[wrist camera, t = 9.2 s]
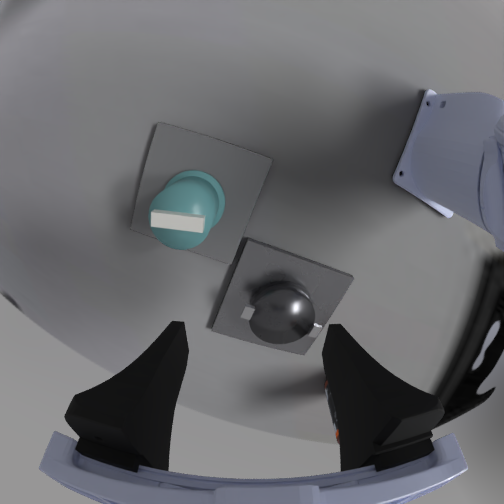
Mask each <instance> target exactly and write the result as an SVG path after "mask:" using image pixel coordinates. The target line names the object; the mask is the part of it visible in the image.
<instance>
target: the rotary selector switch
mask: <svg viewBox="0 0 504 504" xmlns="http://www.w3.org/2000/svg"><path fill="white" fill-rule="evenodd" d="M353 280H354V277H353V276H352V275H350V274H348V273H345V272H342V271H339V270H337V269H334V268H331V267H329V266H326V265H323V264H320V263H318V262H315V261H312V260H309V259H307V258H304V257H301V256H298V255H296V254H293V253H290V252H287V251H284V250H282V249H279V248H276V247H273V246H271V245H268V244H265V243H262V242H259V241H257V240H254V239H251V238H248V239H247V241H246V243H245V246H244V248H243V251H242V253H241V256H240V258H239V261H238V263H237V266H236V268H235V271H234V273H233V276H232V278H231V281H230V283H229V286H228V288H227V291H226V293H225V296H224V298H223V301H222V303H221V306H220V309H219V311H218V314H217V316H216V319H215V321H214V324H213V326H212V331H213V332H216V333H220V334H223V335H227V336H230V337H233V338H237V339H240V340H244V341H248V342H251V343H255V344H259V345H263V346H266V347H270V348H274V349H278V350H283V351H287V352H291V353H295V354H300V355H305V353H306V352H307V351H308V349H309V348H310V346H311V345H312V344H313V342H314V341H315V339H316V338H317V336H318V335H319V333H320V332H321V330H322V329H323V327H324V326H325V324H326V323H327V321H328V320H329V318H330V317H331V315H332V314H333V312H334V311H335V309H336V307H337V306H338V304H339V303H340V301H341V299H342V298H343V296H344V295H345V293H346V291H347V290H348V288H349V286H350V285H351V283H352V281H353Z"/></svg>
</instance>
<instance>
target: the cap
mask: <svg viewBox="0 0 504 504" xmlns="http://www.w3.org/2000/svg"><path fill="white" fill-rule="evenodd" d="M224 208H225V194H224V191H223V188H222V186H221V185H220V183H219V182H218V181H217V180H216V179H215V178H214V177H213V176H212V175H210V174H208V173H206V172H203V171H200V170H188V171H184V172H181V173H179V174H178V175H176V176H175V177H173V178H172V179H171V180H170V181H169V182H168V184H167V185H166V187H165V189H164V190H163V191H162V192H160V193H159V194H158V195H157V196H156V197H155V198H154V200H153V201H152V203H151V205H150V208H149V214H148V218H149V224H150V228H151V230H152V232H153V234H154V235H155V236H156V238H157V239H158V240H159V241H160V242H162V243H163V244H164V245H166V246H168V247H170V248H173V249H179V250H185V249H190V248H193V247H195V246H197V245H199V244H200V243H201V242H203V241H204V239H205V238H206V237H207V235H208V233H209V231H210V229H211V228H212V227H213V226H215V225H216V224H217V223H218V221H219V220H220V218H221V217H222V214H223V212H224Z"/></svg>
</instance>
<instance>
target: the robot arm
mask: <svg viewBox="0 0 504 504" xmlns="http://www.w3.org/2000/svg"><path fill="white" fill-rule="evenodd" d="M426 102H428V106H427V104H426ZM400 171H402V175H401V176H400V175H399V172H400ZM393 182H394V183H395V184H397V185H398V186H400V187H402V188H403V189H405V190H406V191H408V192H410V193H411V194H413V195H414V196H416V197H417V198H419V199H421V200H422V201H424V202H425V203H427V204H428V205H430V206H431V207H432V208H434V209H435V210H437V211H438V212H440V213H441V214H443V215H444V216H445V217H447V218H450V217H451V216H452V215H453V213H456V214H458V215H460V216H462V217H463V218H465V219H467V220H469V221H470V222H472V223H474V224H476V225H477V226H479V227H481V228H482V229H484V230H486V231H487V232H489V233H490V234H492V235H493V236H494V238H495V242H496V247H498V248H499V249H501V250H502V251H503V252H504V100H502V99H500V98H498V97H496V96H493V95H490V94H487V93H482V92H465V93H448V94H436V93H435V92H434V91H433V90H431V89H428V90H426V91H425V94H424V97H423V100H422V103H421V106H420V109H419V112H418V114H417V117H416V120H415V123H414V125H413V128H412V131H411V133H410V136H409V139H408V141H407V144H406V146H405V149H404V151H403V154H402V156H401V158H400V161H399V163H398V166H397V168H396V170H395V173H394V175H393ZM188 354H189V348H188V342H187V336H186V330H185V324H184V322H180V321H172V322H171V323H170V324H169V325H168V326H167V328H166V329H165V330H164V331H163V332H162V333H161V334H160V336H159V337H158V338H157V339H156V340H155V341H154V342H153V343H152V344H151V345H150V346H149V347H148V349H147V350H145V351H144V352H143V353H142V354H141V355H140V356H139V357H138V358H137V359H136V360H135V361H134V362H132V363H131V364H130V365H129V366H128V367H126V368H125V369H124V370H122V371H121V372H119V373H118V374H116V375H115V376H113V377H112V378H110V379H109V380H107V381H105V382H103V383H101V384H99V385H97V386H95V387H93V388H91V389H89V390H86V391H84V392H81V393H79V394H76V395H75V396H74V397H73V399H72V401H71V403H70V405H69V407H68V410H67V412H66V414H65V420H66V422H67V423H68V424H69V426H70V427H71V428H72V429H73V430H74V431H75V432H76V433H77V434H78V435H79V437H80V438H79V441H78V442H77V441H76V440H74V439H73V438H70V437H68V436H66V435H63V434H61V433H59V432H57V431H54V433H53V435H52V437H51V440H50V442H49V444H48V446H47V449H46V451H45V454H44V456H43V459H42V461H41V464H40V466H39V469H40V470H41V471H42V472H44V473H45V474H46V475H48V476H49V477H51V478H52V479H54V480H55V481H57V482H58V483H60V484H61V485H63V486H65V487H66V488H68V489H70V490H73V491H75V492H77V493H79V494H81V495H84V496H86V497H88V498H90V499H93V500H95V501H98V502H100V503H103V504H404V503H406V502H409V501H411V500H414V499H416V498H418V497H421V496H422V495H425V494H428V493H430V492H432V491H434V490H436V489H438V488H440V487H442V486H443V485H445V484H447V483H448V482H450V481H451V480H453V479H454V478H456V477H457V476H459V475H460V474H462V473H463V472H464V471H466V470H467V469H468V466H467V464H466V461H465V458H464V456H463V453H462V451H461V449H460V446H459V444H458V441H457V439H456V437H455V435H454V433H451V434H449V435H446V436H444V437H441V438H439V439H437V440H435V441H434V442H432V441H431V440H430V438H431V437H432V436H433V434H432V432H431V430H432V428H433V427H434V426H435V425H436V424H437V423H438V422H439V421H440V420H441V418H442V417H443V415H444V412H445V411H444V408H443V406H442V404H441V402H440V400H439V398H438V397H437V396H434V395H432V394H429V393H426V392H424V391H422V390H419V389H417V388H415V387H413V386H411V385H410V384H408V383H406V382H404V381H403V380H401V379H400V378H398V377H396V376H395V375H393V374H392V373H391V372H389V371H388V370H387V369H385V368H384V367H383V366H382V365H380V364H379V363H378V362H377V361H376V360H375V359H374V358H372V357H371V356H370V355H369V354H368V353H367V352H366V351H365V350H364V349H363V348H362V347H361V346H360V345H359V344H358V343H357V342H356V340H355V339H354V338H353V337H352V336H351V335H350V334H349V333H348V332H347V331H346V329H345V328H344V327H343V326H342V325H341V324H329V327H328V331H327V335H326V339H325V343H324V347H323V351H322V357H323V364H324V370H325V374H326V377H327V381H328V384H329V388H330V391H331V395H332V398H333V402H334V406H335V410H336V416H337V423H338V432H339V442H340V459H341V472H336V473H330V474H324V475H316V476H307V477H295V478H279V479H233V478H216V477H205V476H197V475H188V474H182V473H176V472H169V471H168V467H169V451H170V440H171V432H172V423H173V417H174V410H175V406H176V402H177V398H178V395H179V391H180V388H181V384H182V381H183V377H184V374H185V370H186V366H187V360H188Z"/></svg>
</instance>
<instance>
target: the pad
mask: <svg viewBox="0 0 504 504" xmlns="http://www.w3.org/2000/svg"><path fill="white" fill-rule="evenodd" d="M272 162H273V159H271V158H268V157H266V156H263V155H260V154H258V153H255V152H252V151H250V150H247V149H244V148H241V147H239V146H236V145H233V144H230V143H227V142H224V141H221V140H218V139H215V138H212V137H209V136H206V135H202V134H199V133H196V132H193V131H189V130H186V129H183V128H179V127H176V126H172V125H168V124H165V123H161V122H158V124H157V127H156V130H155V133H154V137H153V140H152V143H151V146H150V150H149V153H148V157H147V160H146V164H145V167H144V171H143V175H142V179H141V183H140V187H139V191H138V195H137V199H136V204H135V208H134V213H133V218H132V223H131V228H130V229H131V230H133V231H136V232H139V233H142V234H145V235H147V236H150V237H153V238H156V236H155V235H154V234H153V232H152V230H151V228H150V224H149V218H148V214H149V208H150V205H151V203H152V201H153V200H154V198H155V197H156V196H157V195H158V194H159V193H160V192H162V191H163V190H164V189H165V187H166V185H167V184H168V182H169V181H170V180H171V179H172V178H173V177H175V176H176V175H178V174H179V173H181V172H184V171H188V170H200V171H203V172H206V173H208V174H210V175H212V176H213V177H214V178H215V179H216V180H217V181H218V182H219V183H220V185H221V186H222V188H223V191H224V194H225V208H224V212H223V214H222V217H221V218H220V220H219V221H218V223H217V224H216V225H215V226H213V227H212V228H211V229H210V231H209V233H208V235H207V237H206V238H205V239H204V241H203V242H201V243H200V244H199V245H197V246H195V247H193V248H190V249H187V250H190V251H193V252H195V253H198V254H201V255H204V256H207V257H210V258H213V259H216V260H219V261H221V262H224V263H227V264H230V265H231V264H232V262H233V259H234V257H235V254H236V252H237V249H238V247H239V244H240V241H241V239H242V236H243V234H244V231H245V229H246V226H247V224H248V221H249V219H250V216H251V214H252V211H253V209H254V206H255V204H256V201H257V199H258V196H259V194H260V191H261V189H262V186H263V184H264V181H265V179H266V177H267V174H268V172H269V169H270V167H271V164H272ZM156 239H157V238H156Z"/></svg>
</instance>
